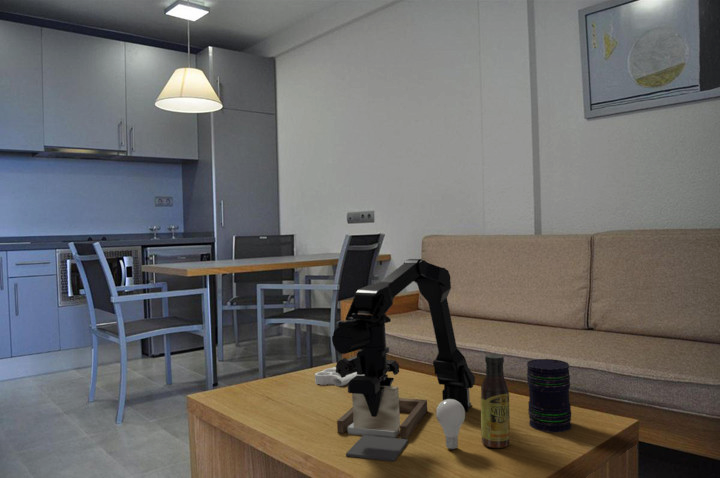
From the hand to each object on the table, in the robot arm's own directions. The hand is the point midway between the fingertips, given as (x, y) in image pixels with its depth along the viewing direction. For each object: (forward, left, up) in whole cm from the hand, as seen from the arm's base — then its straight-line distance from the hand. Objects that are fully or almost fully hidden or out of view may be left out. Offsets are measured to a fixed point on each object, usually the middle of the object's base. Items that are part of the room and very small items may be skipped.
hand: (376, 414), depth 125 cm
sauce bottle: (-25, -9, -8) cm, 28 cm away
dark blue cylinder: (-36, -24, -8) cm, 44 cm away
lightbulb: (-16, -4, -8) cm, 18 cm away
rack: (+4, -17, -8) cm, 19 cm away
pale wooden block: (0, 0, -3) cm, 3 cm away
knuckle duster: (+30, -52, -9) cm, 61 cm away
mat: (0, 0, -8) cm, 8 cm away
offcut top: (+4, -9, -8) cm, 12 cm away
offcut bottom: (+4, -9, -9) cm, 13 cm away
